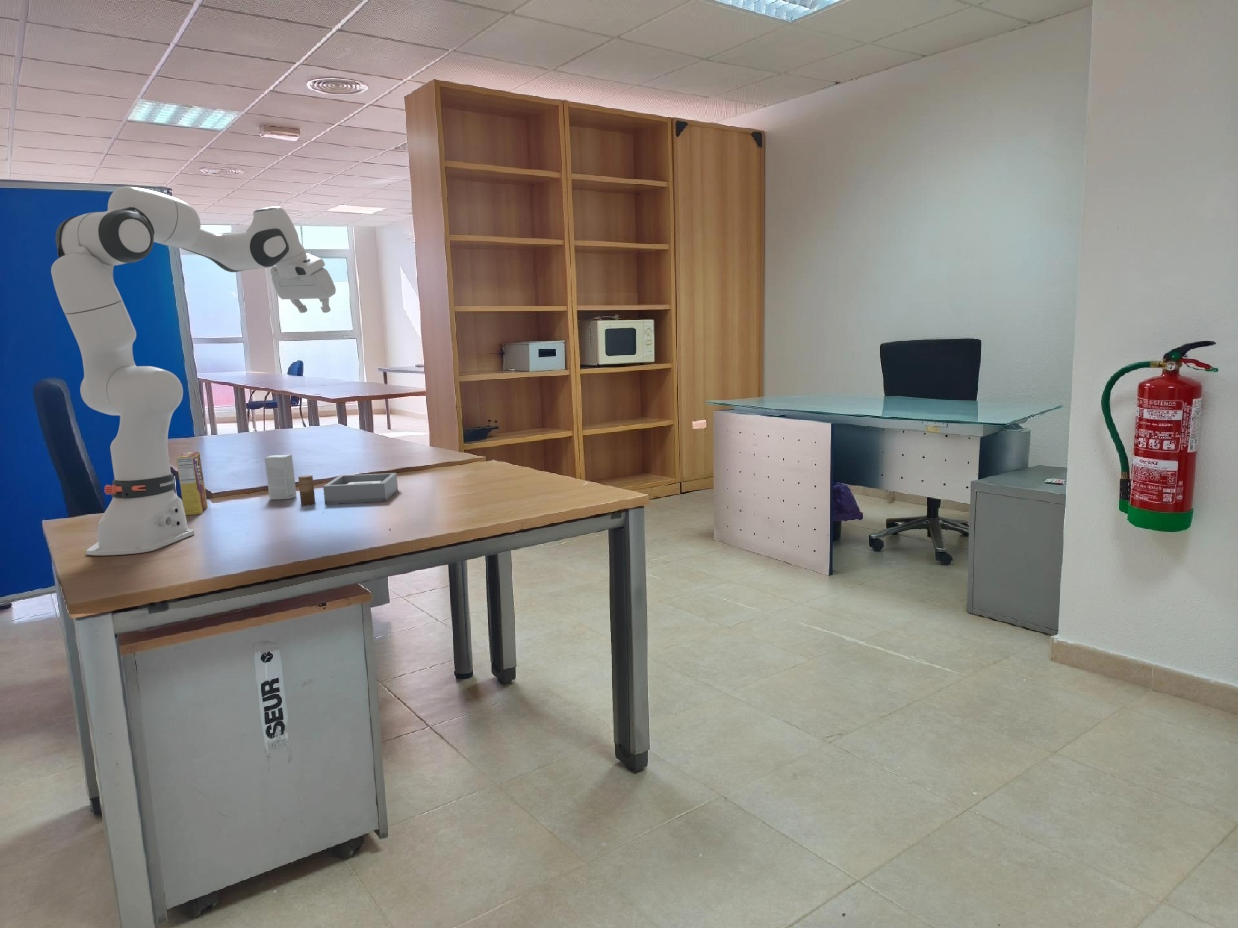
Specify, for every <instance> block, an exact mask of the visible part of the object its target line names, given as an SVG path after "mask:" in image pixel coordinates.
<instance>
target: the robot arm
mask: <svg viewBox="0 0 1238 928" xmlns="http://www.w3.org/2000/svg"><path fill="white" fill-rule="evenodd" d="M252 215H253V218H252V220H251V223H250V225H249V227H248V228H247V229H246V230H245V231H238V232H237V231H236V232H223V233H218V234H215V233H213V232H210V231H208V230H205V229H203V228H201V226H202V224H201V219H200V215H199V214H198V212H197V210H196V209H195V207H193V206H192V205H190V204H189V203H187V202H185V201H183V200H180V199H179V198H176V197H174V196H172V195H171V196H170V195H168V194H165V193H162V192H158V191H156V190H150V189H146V188H142V187H137V186H136V187H135V186H129V185H128V186H126V185H125V186H121V187H118V188H116V189H115V190H113V192H112V193H111V194H110V196H109V199H108V202H107V211H106V210H105V211H94V212H92V211H91V212H87V213H83V214H81V215H74V216H70V217H69V218H67V219H66V220H63V222H61V223H60V224H59V225H58V226H57V228H56V232H55V246H56V248H57V256H58V258H57V259H55V261H54V262H53V263H52V265H51V267H50V268H51V269H50V274H51V277H52V282H53V286H54V290H55V292H56V293H55V294H56V297H57V298H58V299H57V300H58V301H59V304H60V306H61V308H62V311H63V313H64V315H65V317H66V320H67V323H68V324H69V326H70V329H71V332H72V333H73V336H74V338H75V340H76V342H77V345H78V347H79V351H80V354H81V359H82V366H83V379H82V381H81V383H80V388H79V390H80V392H79V393H80V396H81V399H82V400H83V403H85V405H86V406H87V407H89V408H90V409H91V410H94V411H97V412H99V413H102V414H104V415H105V414H106V415H109V416H119V426H118V431H117V434H116V436H115V438H114V439H113V440H112V441H111V443H110V447H109V449H110V456H111V457H110V458H111V464H112V470H113V477H114V479H113V480H112V485H110V484H106V485H105V486H104V493H105V495H111V497H112V499H111V501H110V503H109V505H108V507H107V508H106V509H105V511H104V513H103V515H102V516H101V518H100V520H98V521H99V522H98V523H97V530H96V531H97V533H96V534H97V542H95V544H93V545H92V546H90V547H89V548H87V549H86V550H85V551H86V554H85V555H87V556H89V555H90V556H119V555H130V554H131V555H132V554H141V553H148V552H153V551H156V550H158V549H161V548H163V547H166V546H168V545H170V544H173V543H176V542H178V541H181V540H184V539H185V538H186V539H187V538H188V537H190V536H193V535H195V531H194V528H193V529H192V528H189V526H188V521H187V517H186V516H187V515H185V511H184V507H183V501H182V498H180V497H179V496H178V494H176V492H175V489H176V485H175V484H176V483H175V482H176V481H175V477H174V474H173V473H172V472H171V464H170V454H169V445H168V441H169V439H168V437H169V429H170V425H171V420H172V416H173V414H174V412H175V411H176V409H177V408H178V407H179V406H180V404H181V402H182V400H183V396H184V388H183V384H182V382H181V380H180V379H179V377H177V375H176V374H174V373H173V372H171V371H169V370H166V369H163V368H160V367H157V366H150V365H147V366H146V365H142V366H141V365H139V366H137V364H136V363H135V360H134V353H133V352H134V351H133V344H134V342H135V341H136V339H137V330H136V328H135V325H133V324H134V323H133V322H132V319H131V316H130V314H129V312H128V309H127V307H126V305H125V303H124V301H123V298H122V295H121V294H120V291H119V290H118V287H117V286H116V284H115V280H114V266H120V265H124V264H133V263H136V262H139V261H141V260H143V259H145V258H146V257H148V255H149V254H151V251H152V250H153V246H154V243H156V244H160V245H162V246H163V245H164V246H168V247H171V248H178V249H181V250H184V251H187V252H189V253H193V254H196V255H198V256H201V257H204V258H207V259H208V260H210V261H212V263H214V264H216V265H217V266H218V267H220V269H222V270H224V271H226V272H229V273H238V272H243V271H250V270H251V271H252V270H261V269H268V268H271V269H270V275H271V281H272V284H273V286H274V290H275V291H276V294H277V296H278V297H279V298H280V299H281V300H289V301H290V302H291V303H292V304H293V305H294V306H295V307H296V308H297V310H298V312H299V313H301V314H304V313H307V312H308V308H307V305H306V304H304V303H303V302H302V301H301V300H311V299H313V300H314V299H318V300H319V301H320V303H321V304H322V306H321V307H320V309H321V311H322V313H324V314H325V313H329V312H331V310H332V309H331V307H330V298H331V297H333V296H334V295H335V294H336V293H337V292H336V291H337V289H336V285H335V282H334V281H333V279H332V277H331V274H330V273H329V271H328V270H327V269H326V268H324V267H325V266H326V263H325V261H324V260H323V258H320V257H317V256H315V255H312V254H310V253H309V252H308V253H307V251H306V249H305V248H304V246H303V245H302V243H301V242H300V239H299V234H298V232H297V230H296V228H295V225H294V223H293V221H292V219H291V218H290V216H289V214H288V213H287V211H286V210H285V209H284V207H281V206H279V205H275V206H268V207H262V208H258V209H256V210H254V211H253V212H252Z"/></svg>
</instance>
